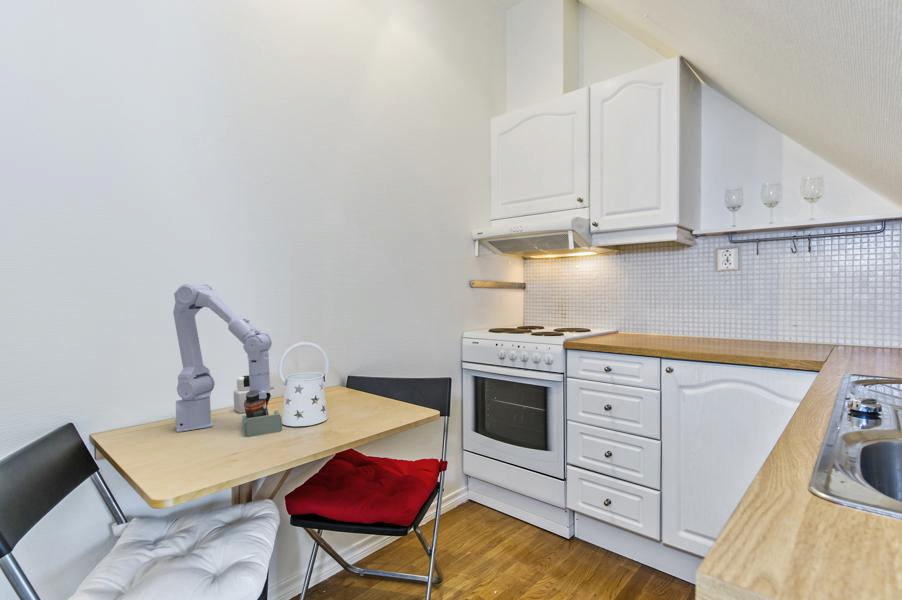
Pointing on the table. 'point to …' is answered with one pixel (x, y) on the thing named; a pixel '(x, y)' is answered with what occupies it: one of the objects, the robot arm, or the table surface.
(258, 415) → the supplement bottle
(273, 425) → the holder
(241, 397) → the medicine bottle
